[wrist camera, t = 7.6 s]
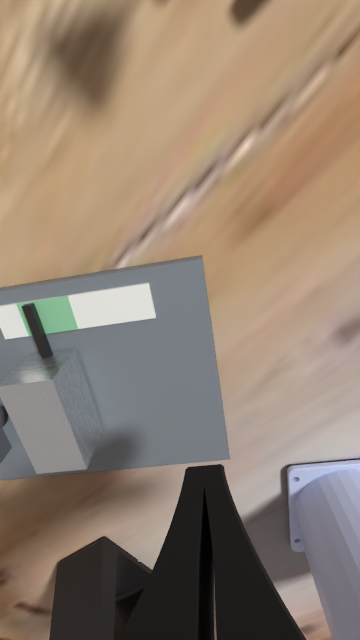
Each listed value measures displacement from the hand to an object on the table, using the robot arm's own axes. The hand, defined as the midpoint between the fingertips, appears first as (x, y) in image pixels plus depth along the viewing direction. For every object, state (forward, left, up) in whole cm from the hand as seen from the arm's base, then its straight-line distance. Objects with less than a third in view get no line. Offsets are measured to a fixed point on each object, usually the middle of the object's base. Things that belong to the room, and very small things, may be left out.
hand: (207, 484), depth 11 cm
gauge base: (0, +8, -8) cm, 12 cm away
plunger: (+2, +8, -7) cm, 11 cm away
